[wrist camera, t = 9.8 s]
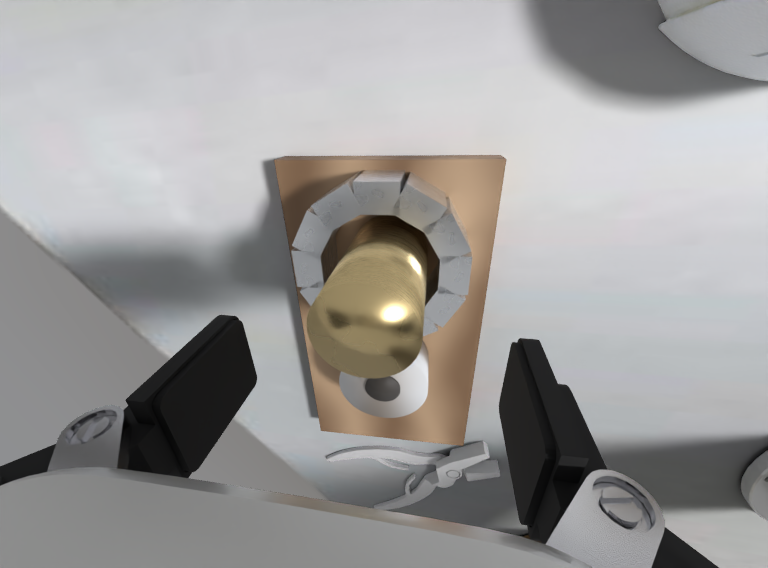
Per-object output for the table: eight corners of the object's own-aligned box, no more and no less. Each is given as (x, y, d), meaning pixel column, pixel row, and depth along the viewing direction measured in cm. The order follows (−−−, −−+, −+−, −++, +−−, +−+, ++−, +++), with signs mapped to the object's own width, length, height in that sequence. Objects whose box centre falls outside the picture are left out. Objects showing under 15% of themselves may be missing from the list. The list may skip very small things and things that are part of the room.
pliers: (322, 466, 31) (471, 429, 26) (327, 451, 32) (469, 412, 27) (375, 520, 35) (515, 497, 29) (377, 505, 36) (511, 480, 31)
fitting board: (500, 155, 17) (521, 170, 13) (461, 429, 28) (466, 485, 24) (285, 156, 19) (244, 170, 15) (326, 416, 29) (308, 466, 25)
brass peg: (429, 214, 18) (424, 286, 11) (426, 285, 20) (420, 382, 13) (350, 213, 18) (298, 280, 11) (356, 282, 20) (314, 373, 13)
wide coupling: (473, 169, 16) (481, 182, 14) (458, 317, 21) (461, 348, 18) (302, 169, 17) (279, 181, 15) (321, 310, 22) (306, 337, 19)
